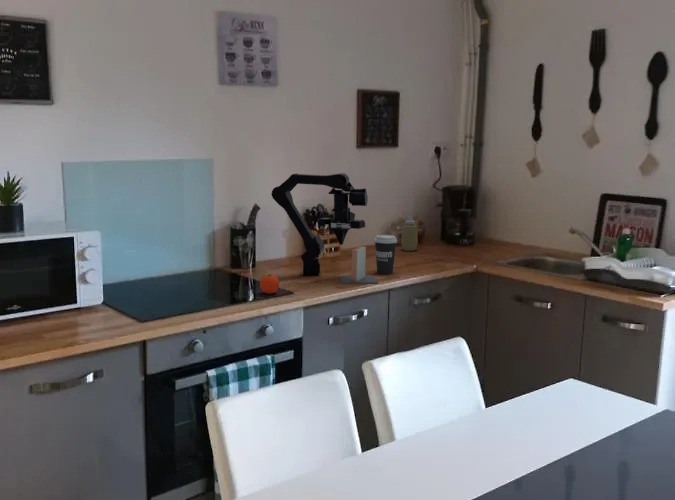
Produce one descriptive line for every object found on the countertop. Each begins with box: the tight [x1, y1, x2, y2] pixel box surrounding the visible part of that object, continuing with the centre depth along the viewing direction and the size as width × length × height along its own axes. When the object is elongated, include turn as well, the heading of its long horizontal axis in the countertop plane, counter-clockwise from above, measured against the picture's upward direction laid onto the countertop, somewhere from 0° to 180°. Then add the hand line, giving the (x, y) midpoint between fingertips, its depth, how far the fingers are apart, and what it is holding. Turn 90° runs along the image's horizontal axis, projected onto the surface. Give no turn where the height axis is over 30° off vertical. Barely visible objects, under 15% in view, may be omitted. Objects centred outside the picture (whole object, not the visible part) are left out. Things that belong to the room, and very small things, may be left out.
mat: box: [338, 274, 379, 285], centre depth 275 cm, size 14×12×1 cm
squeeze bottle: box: [400, 212, 419, 252], centre depth 337 cm, size 8×8×18 cm
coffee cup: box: [373, 234, 398, 275], centre depth 288 cm, size 10×10×15 cm
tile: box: [351, 246, 367, 281], centre depth 274 cm, size 2×8×12 cm, turn 156°
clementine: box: [259, 273, 280, 295], centre depth 252 cm, size 8×7×7 cm
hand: (341, 244), depth 279 cm, fingers closed
